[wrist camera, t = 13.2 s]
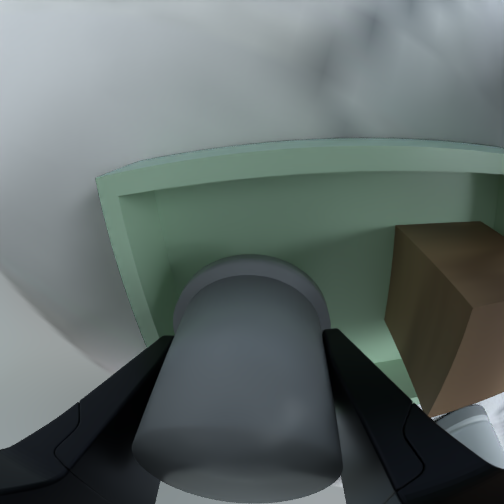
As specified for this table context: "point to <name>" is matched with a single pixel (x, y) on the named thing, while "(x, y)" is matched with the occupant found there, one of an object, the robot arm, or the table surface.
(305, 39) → the table surface
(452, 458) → the robot arm
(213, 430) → the grey domed knob
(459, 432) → the travel mug
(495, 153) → the parts tray
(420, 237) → the walnut block
